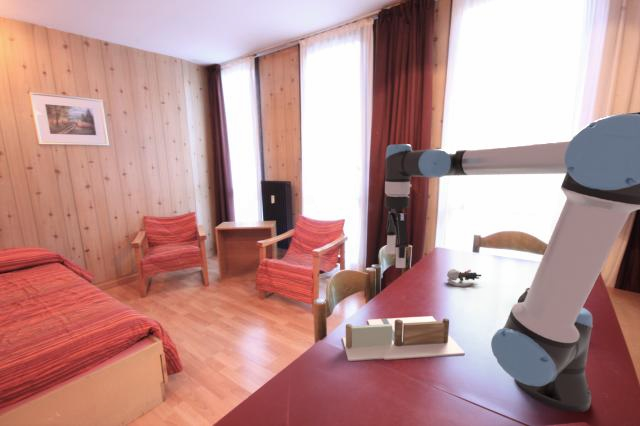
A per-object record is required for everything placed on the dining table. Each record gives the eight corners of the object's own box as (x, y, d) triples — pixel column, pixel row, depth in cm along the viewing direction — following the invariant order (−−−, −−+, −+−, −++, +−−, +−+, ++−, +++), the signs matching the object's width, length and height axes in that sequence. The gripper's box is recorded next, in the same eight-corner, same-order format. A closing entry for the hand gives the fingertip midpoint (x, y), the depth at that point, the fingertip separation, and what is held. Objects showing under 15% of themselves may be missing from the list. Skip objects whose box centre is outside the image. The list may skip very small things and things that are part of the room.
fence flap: (390, 341, 91) (390, 321, 90) (392, 345, 90) (392, 324, 88) (345, 344, 90) (345, 324, 89) (346, 348, 88) (346, 327, 87)
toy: (483, 265, 132) (448, 264, 133) (487, 283, 127) (452, 281, 128) (474, 276, 140) (441, 274, 141) (478, 292, 135) (444, 290, 136)
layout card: (464, 354, 86) (464, 352, 86) (348, 362, 84) (348, 360, 84) (432, 317, 107) (432, 315, 107) (338, 322, 104) (338, 321, 104)
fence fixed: (449, 343, 91) (451, 320, 89) (395, 346, 89) (396, 323, 88) (445, 338, 93) (447, 316, 92) (392, 342, 92) (393, 319, 90)
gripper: (422, 199, 79) (418, 274, 83) (399, 191, 104) (397, 248, 108) (394, 200, 80) (392, 274, 83) (378, 191, 104) (377, 249, 108)
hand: (395, 260), depth 95 cm, fingers open, 13 cm apart
